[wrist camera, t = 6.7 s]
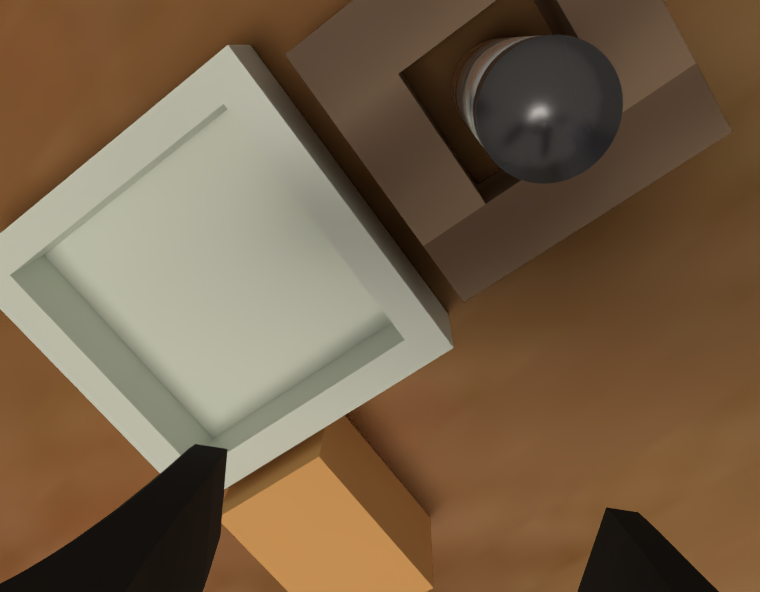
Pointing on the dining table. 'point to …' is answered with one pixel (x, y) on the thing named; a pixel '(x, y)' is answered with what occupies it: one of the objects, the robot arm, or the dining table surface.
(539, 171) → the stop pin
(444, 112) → the dining table surface
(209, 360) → the tray
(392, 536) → the block
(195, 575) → the robot arm
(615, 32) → the socket block
